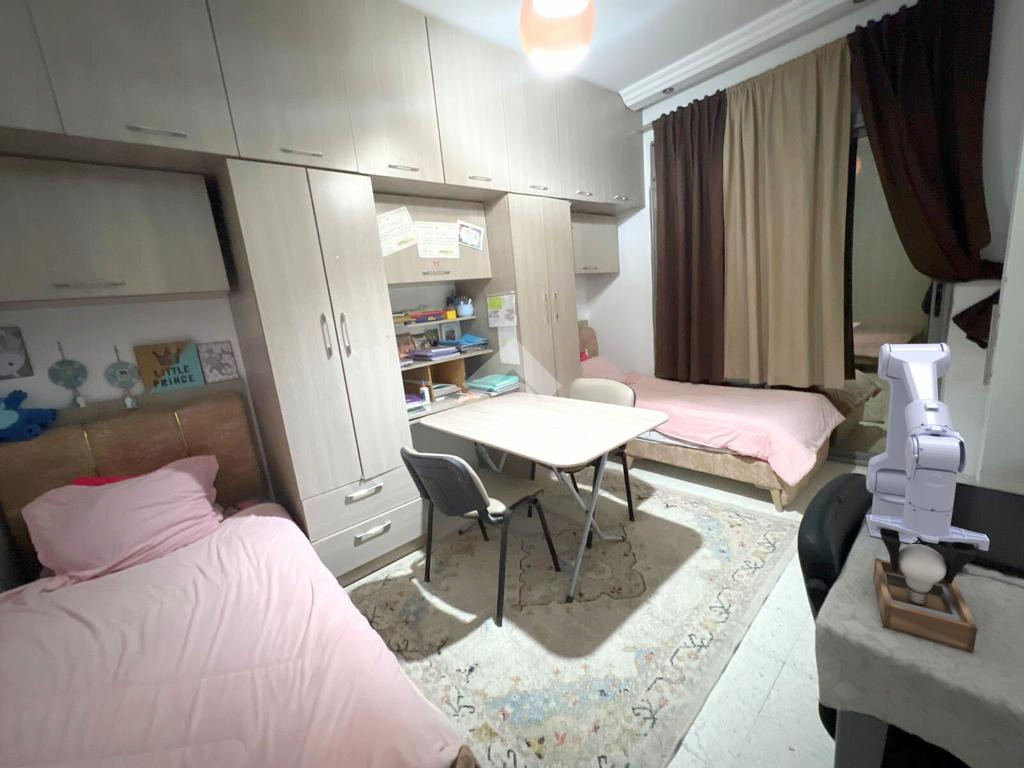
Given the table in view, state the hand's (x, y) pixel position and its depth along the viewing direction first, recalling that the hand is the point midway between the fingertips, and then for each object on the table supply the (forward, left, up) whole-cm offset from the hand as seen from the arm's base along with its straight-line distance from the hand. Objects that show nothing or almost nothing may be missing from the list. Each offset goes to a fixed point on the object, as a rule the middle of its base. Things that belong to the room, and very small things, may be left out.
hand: (919, 573), depth 73 cm
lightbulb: (0, 0, -6) cm, 6 cm away
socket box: (+1, 0, -7) cm, 7 cm away
